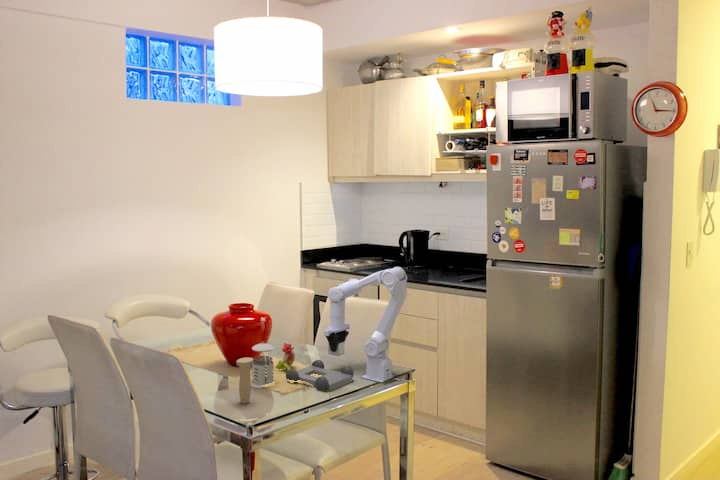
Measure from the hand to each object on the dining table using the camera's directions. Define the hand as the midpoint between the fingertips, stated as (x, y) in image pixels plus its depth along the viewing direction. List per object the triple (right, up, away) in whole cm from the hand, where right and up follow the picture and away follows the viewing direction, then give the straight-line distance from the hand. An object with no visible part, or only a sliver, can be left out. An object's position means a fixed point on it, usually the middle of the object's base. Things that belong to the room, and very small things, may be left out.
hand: (336, 350), depth 280 cm
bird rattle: (-20, -8, +1) cm, 22 cm away
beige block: (0, -2, 0) cm, 2 cm away
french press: (-27, -10, -17) cm, 34 cm away
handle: (-30, -12, -37) cm, 49 cm away
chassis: (-6, -10, -12) cm, 17 cm away
